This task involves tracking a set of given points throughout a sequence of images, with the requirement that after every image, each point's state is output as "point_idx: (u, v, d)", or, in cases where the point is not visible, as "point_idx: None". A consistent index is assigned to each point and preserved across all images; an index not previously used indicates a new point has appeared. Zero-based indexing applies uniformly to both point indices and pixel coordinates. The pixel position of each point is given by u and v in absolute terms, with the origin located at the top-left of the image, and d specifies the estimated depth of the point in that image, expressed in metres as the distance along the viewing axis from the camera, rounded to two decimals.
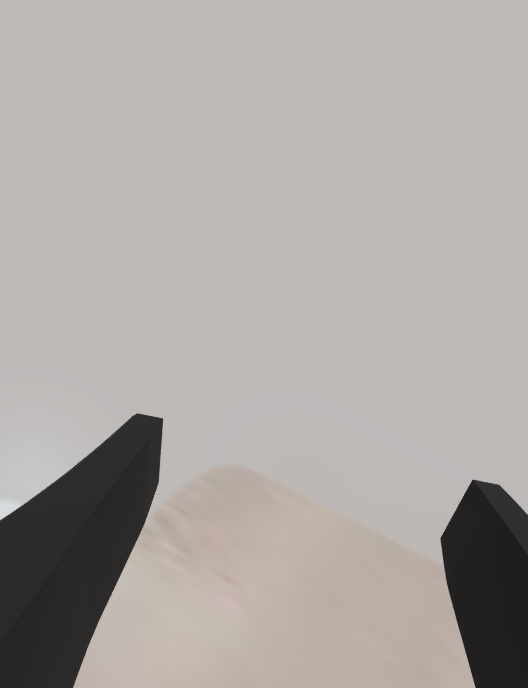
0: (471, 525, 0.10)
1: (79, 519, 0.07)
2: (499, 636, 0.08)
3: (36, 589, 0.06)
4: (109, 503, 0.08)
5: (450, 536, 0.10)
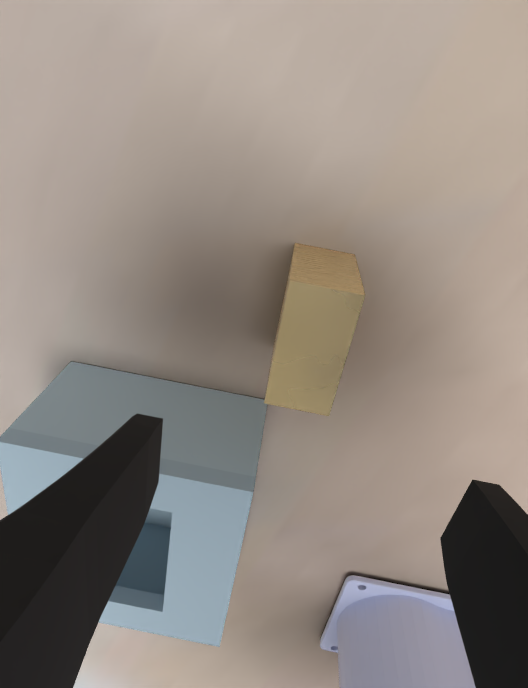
0: (471, 525, 0.10)
1: (79, 519, 0.07)
2: (499, 636, 0.08)
3: (36, 589, 0.06)
4: (109, 503, 0.08)
5: (450, 536, 0.10)
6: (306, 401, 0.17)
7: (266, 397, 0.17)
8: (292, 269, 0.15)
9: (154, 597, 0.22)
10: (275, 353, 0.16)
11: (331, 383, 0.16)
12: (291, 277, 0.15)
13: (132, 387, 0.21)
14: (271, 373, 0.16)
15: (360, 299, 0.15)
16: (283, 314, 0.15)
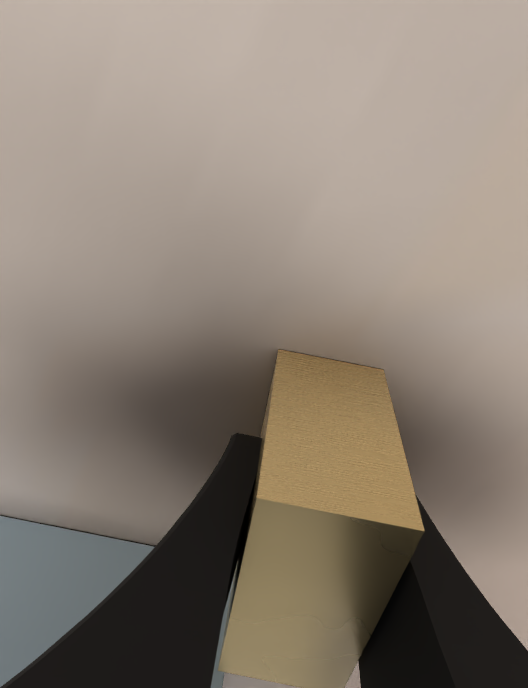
0: None
1: (226, 548, 0.07)
2: None
3: (217, 626, 0.05)
4: (240, 529, 0.08)
5: None
6: (297, 673, 0.09)
7: (221, 663, 0.09)
8: (267, 446, 0.08)
9: None
10: (234, 607, 0.08)
11: (346, 654, 0.08)
12: (262, 482, 0.07)
13: (24, 555, 0.13)
14: (228, 633, 0.08)
15: (413, 537, 0.07)
16: (247, 550, 0.07)
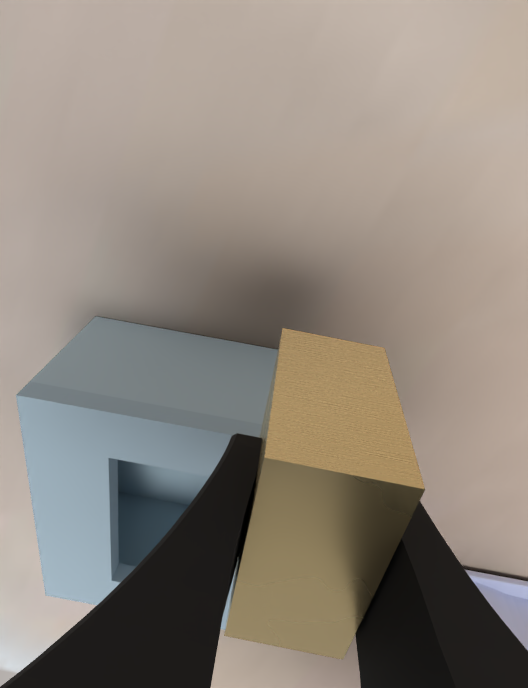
0: None
1: (226, 548, 0.07)
2: (376, 611, 0.08)
3: (217, 625, 0.05)
4: (240, 529, 0.08)
5: None
6: (301, 637, 0.09)
7: (228, 628, 0.09)
8: (273, 413, 0.08)
9: None
10: (241, 570, 0.08)
11: (348, 617, 0.09)
12: (269, 444, 0.07)
13: (167, 342, 0.19)
14: (235, 597, 0.09)
15: (414, 495, 0.07)
16: (254, 511, 0.07)
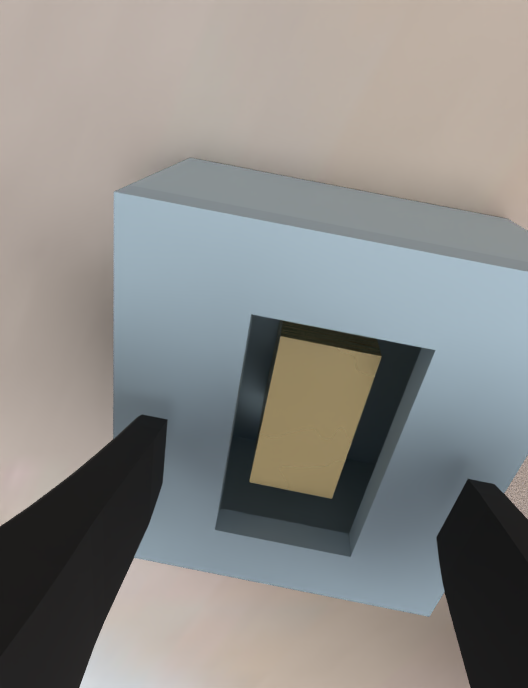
0: (466, 524, 0.10)
1: (86, 520, 0.07)
2: (493, 635, 0.08)
3: (44, 591, 0.06)
4: (115, 504, 0.08)
5: (446, 535, 0.10)
6: (303, 481, 0.13)
7: (252, 475, 0.13)
8: None
9: (330, 535, 0.13)
10: (263, 424, 0.12)
11: (335, 461, 0.13)
12: (283, 330, 0.11)
13: (301, 185, 0.13)
14: (258, 448, 0.13)
15: (375, 361, 0.11)
16: (273, 377, 0.11)
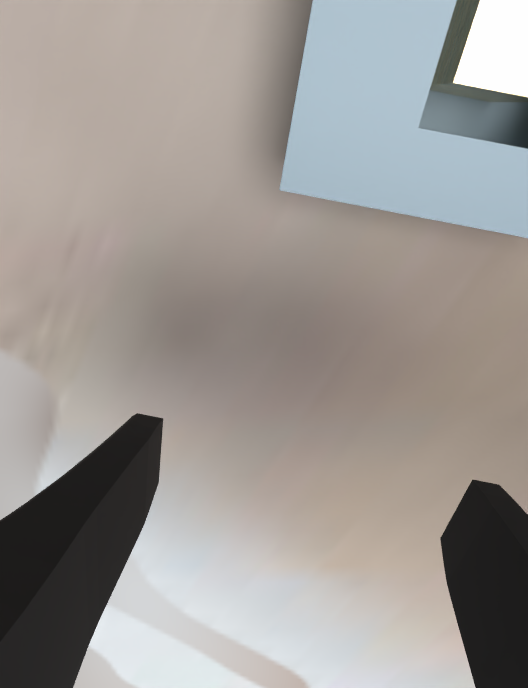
0: (471, 525, 0.10)
1: (79, 519, 0.07)
2: (499, 636, 0.08)
3: (36, 589, 0.06)
4: (109, 503, 0.08)
5: (450, 536, 0.10)
6: (522, 73, 0.11)
7: (459, 70, 0.11)
8: None
9: None
10: None
11: None
12: None
13: None
14: (477, 15, 0.10)
15: None
16: None
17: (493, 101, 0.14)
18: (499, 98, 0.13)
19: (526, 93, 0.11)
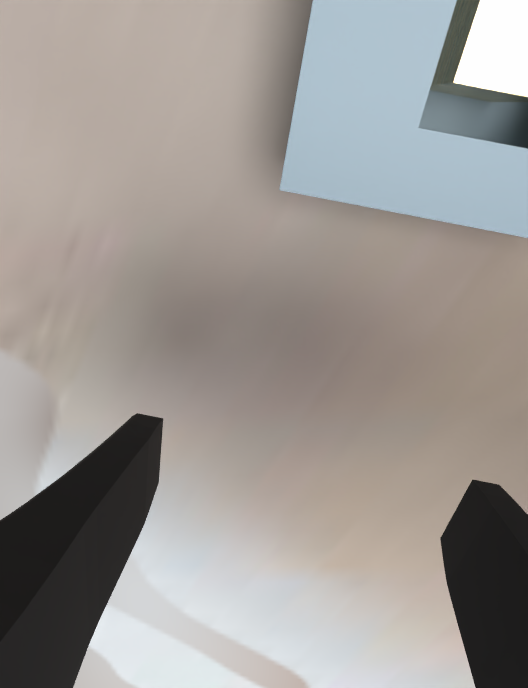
0: (471, 525, 0.10)
1: (79, 519, 0.07)
2: (499, 636, 0.08)
3: (36, 589, 0.06)
4: (109, 503, 0.08)
5: (450, 536, 0.10)
6: (523, 73, 0.11)
7: (459, 70, 0.11)
8: None
9: None
10: None
11: None
12: None
13: None
14: (477, 15, 0.10)
15: None
16: None
17: (493, 101, 0.14)
18: (499, 98, 0.13)
19: (526, 93, 0.11)
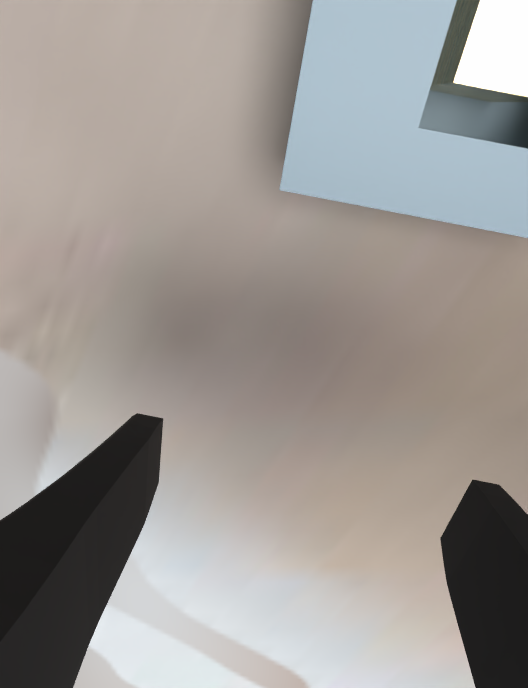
0: (471, 525, 0.10)
1: (79, 519, 0.07)
2: (499, 636, 0.08)
3: (36, 589, 0.06)
4: (109, 503, 0.08)
5: (450, 536, 0.10)
6: (523, 73, 0.11)
7: (459, 70, 0.11)
8: None
9: None
10: None
11: None
12: None
13: None
14: (477, 15, 0.10)
15: None
16: None
17: (493, 101, 0.14)
18: (499, 98, 0.13)
19: (526, 93, 0.11)
